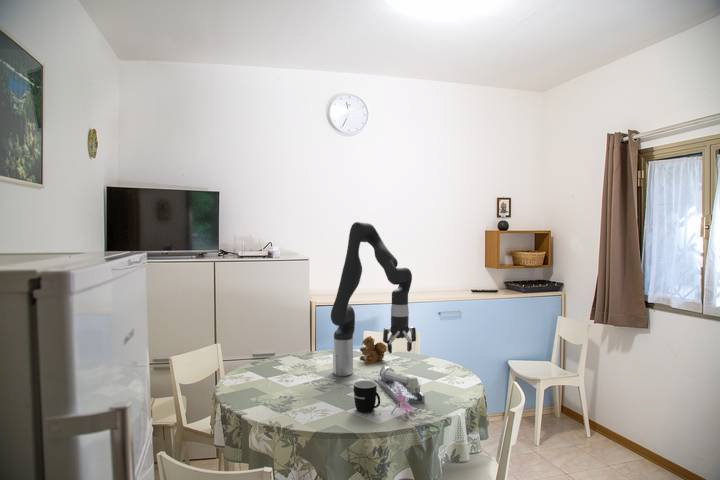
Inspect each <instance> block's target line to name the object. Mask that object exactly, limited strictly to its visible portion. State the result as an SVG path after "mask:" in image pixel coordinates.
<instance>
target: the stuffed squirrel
mask: <svg viewBox="0 0 720 480" xmlns="http://www.w3.org/2000/svg"><path fill="white" fill-rule="evenodd" d="M361 345H363V346H364V347H362V346H361V347H360V348H359V350H360V352H361V354H362V355H360V357H359V359H360V360H363V361H364V363H365V364H374V363H376V362H380V361H382V360H383V359H384V358H385V353H386V352H388V350H387V345H386V343H384V342H376V343H375V338H373V337H372V336H371V335H370V336H367V337H365V338H364V339H363V340H362V344H361Z"/></svg>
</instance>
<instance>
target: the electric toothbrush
mask: <svg viewBox="0 0 720 480" xmlns="http://www.w3.org/2000/svg"><path fill="white" fill-rule="evenodd" d="M380 370H381V369H380ZM379 376H380V377H381V378H383V379H386V380H391V381H396V382H400V383H404V384H407V385H406V387H407V389H408V392H409V393H411V392H414V393H419V392H421V386H422V385H421V384H419V379H418V377H416V376H407V375H404V374H402V373H398V372H396V371H394V372H392V371H390V370H381V372H379Z"/></svg>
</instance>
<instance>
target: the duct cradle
mask: <svg viewBox="0 0 720 480" xmlns="http://www.w3.org/2000/svg"><path fill="white" fill-rule="evenodd" d="M381 370H390V371H392V372H395V370H394V369H393V368H392V367H391V366H390V365H383V366H382V367H380V370H379V371H380V372H381ZM380 372H379V373H380ZM374 382H375V383H376V384H378V385H379V387H380V388H382V389H383V391H384V392H386V394H387V395H388V396H389V397H391V399H392V400H393V401H394V402H395V403H396V404H397V405H398V399H397V398H396V397H395V395H394V394H393V393H395V394H397V395H398V389H397V386H398V387H399V389H400V390H401V392H402V395H403V396H405V397H406V401H408V402H407V403H409V404H410V405H413V404H422V403H425V399H426V398H425V395H424V394H423V393H422V391H420V392H419V393H414V392H411V393H409V392H408V389H407V387H406V385H407V384H404V383H400V382H396V381H391V380H386V379H383V378H381V377H380V375H379V376H378V377H377V378H374Z"/></svg>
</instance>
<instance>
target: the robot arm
mask: <svg viewBox="0 0 720 480" xmlns="http://www.w3.org/2000/svg"><path fill="white" fill-rule="evenodd" d="M361 243H368V244H369V245H370V246H371V247H372V249H373V251H374V257H375V260H376V261H377V263H378V264H379V265H380V266H381V268H382V269H383V271H384V273H385V276H386V278H387V280H388V282H389V283H390V284H392V285H394V286H395V285H396V286H398V287H397V288H396V289H394V290H392V292H391V307H390V328H386V327H384V328H383V337H382V343H384V344H387V345H386V347H387V348H386V349H387V352H388V353H389V354H392V353H393V344H392V343H393V342H394V341H396V339H397V340H398V339H405V340H406V341H407V342H406V343H407V345H406V347H407V348H406V349H407V350H406V351H407V352H411V351H412V349H413V346H412V345H413V342H416V341H417V334H416V333H417V332H416V330H417V329H416V327H415V326H411V327H409V319H410V318H409V314H410V310H409V292H410V289H411V285H412V281H413V274H412V271H411V269H409V268H408V267H398V264H399V263H398V259H397V258H396V257H395V256H394V255H393V254H392V253H391V251H390V250H389V248H388V247H387V246H386V245H385V243H384V241H383V240H382V238H381V236H380V234H379V232H378V231H377V230H376V228H375V226H374V225H372V224H371V223H369V222H363V221H356V222H353V223H352V224H351V227H350V230H349V235H348V243H347V249H346V255H345V258H344V264H343V268H342V272H341V277H340V281H339V286H338V288H337V292H336V293H337V294H336V296H335V299H334V303H333V305H332V308H331V312H330V321H331V322H332V324H333V325H334V326H336V327H337V326H338V327H337V329H336V330H335V331H334V333H333V353H332V373H333V374H334V376H339V377H345V376H351V375H353V374H354V373H353V372H354V346H353V345H354V343H353V341H354V340H353V339H354V332H355V328H356V327H355V325H356V324H355V321H356V314H355V310H354V308H353V307H352V305H349V303H350V302H349V301H350V299H351V297H353V296H352V295H354V293H355V291H356V290H357V288H358V286H359V284H360V282H361V277H362V274H363V266H362V261H361V258H360V254H359V253H360V247H361ZM409 332H410V335H409ZM390 333H391V334H390ZM389 334H390V336H389Z"/></svg>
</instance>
